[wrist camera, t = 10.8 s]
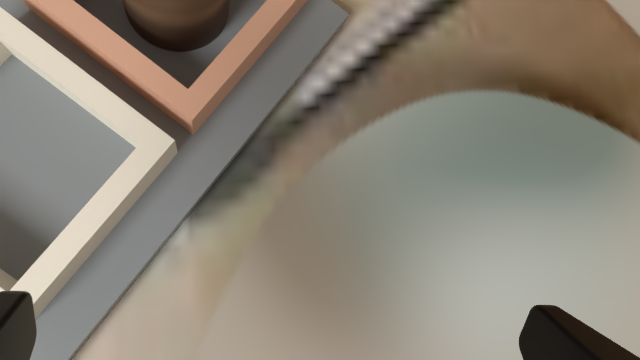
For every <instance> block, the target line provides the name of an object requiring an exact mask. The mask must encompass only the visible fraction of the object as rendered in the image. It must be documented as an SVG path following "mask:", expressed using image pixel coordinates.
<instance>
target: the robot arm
mask: <svg viewBox="0 0 640 360" xmlns="http://www.w3.org/2000/svg"><path fill="white" fill-rule="evenodd" d="M36 336H37V328H36V321H35V314H34V307H33V300H32V296H31V294H30V293H29V292H27V291H1V292H0V360H30V358H31V355H32V352H33V348H34V345H35V342H36ZM519 347H520V351H521V354H522V356H523V359H524V360H640V358H639V357H637V356H636V355H634V354H632V353H631V352H629V351H628V350H626V349H624V348H623V347H621V346H620V345H618V344H616V343H615V342H613V341H612V340H610V339H608V338H607V337H605V336H604V335H602V334H600V333H599V332H597V331H596V330H594V329H592V328H591V327H589V326H587V325H586V324H584V323H583V322H581V321H580V320H578V319H576V318H575V317H573V316H572V315H570V314H568V313H567V312H565V311H564V310H562V309H560V308H559V307H557V306H553V305H536V306H534V307H533V308H532V309H531V310H530V312H529V315H528V317H527V320H526V322H525V324H524V327H523V329H522V332H521V334H520V337H519Z"/></svg>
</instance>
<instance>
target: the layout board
mask: <svg viewBox="0 0 640 360" xmlns="http://www.w3.org/2000/svg"><path fill="white" fill-rule="evenodd" d="M348 15H349V14H348V13H347V12H346V11H345V10H343V9H342V8H341V7H340V6H338V5H337V4H336V3H335V2H333V1H332V0H230V3H229V14H228V19H227V22H226V25H225V27H224V28H223V30H222V32H221V33H220V34H219V36H218V37H217V38H216V39H215V40H213V41H212V42H211V43H209V44H207V45H206V46H204V47H202V48H199V49H196V50H192V51H186V52H176V51H169V50H164V49H161V48H158V47H156V46H154V45H152V44H150V43H149V42H147V41H146V40H144V39H143V38H142V37H141V36H140V35H139V34H138V33H137V32H136V31H135V30H134V28H133V27H132V26H131V24H130V22H129V20H128V17H127V15H126V12H125V9H124V6H123V2H122V0H0V292H1V291H27V292H29V293H30V294H31V296H32V300H33V307H34V314H35V321H36V328H37V336H36V342H35V345H34V348H33V352H32V355H31V358H30V360H71V359H72V358H73V356H74V355H75V354H76V353H77V352H78V350H79V349H80V348H81V347H82V345H83V344H84V343H85V342H86V340H87V339H88V338H89V337H90V336H91V334H92V333H93V332H94V331H95V329H96V328H97V327H98V326H99V324H100V323H101V322H102V321H103V320H104V318H105V317H106V316H107V315H108V313H109V312H110V311H111V310H112V308H113V307H114V306H115V305H116V304H117V302H118V301H119V300H120V299H121V297H122V296H123V295H124V294H125V292H126V291H127V290H128V289H129V288H130V286H131V285H132V284H133V283H134V281H135V280H136V279H137V278H138V276H139V275H140V274H141V273H142V272H143V270H144V269H145V268H146V267H147V265H148V264H149V263H150V262H151V260H152V259H153V258H154V257H155V256H156V254H157V253H158V252H159V251H160V249H161V248H162V247H163V246H164V244H165V243H166V242H167V241H168V240H169V238H170V237H171V236H172V235H173V233H174V232H175V231H176V230H177V228H178V227H179V226H180V225H181V224H182V222H183V221H184V220H185V219H186V217H187V216H188V215H189V214H190V212H191V211H192V210H193V209H194V208H195V206H196V205H197V204H198V203H199V201H200V200H201V199H202V198H203V196H204V195H205V194H206V193H207V192H208V190H209V189H210V188H211V187H212V185H213V184H214V183H215V182H216V180H217V179H218V178H219V177H220V176H221V174H222V173H223V172H224V171H225V169H226V168H227V167H228V166H229V164H230V163H231V162H232V161H233V160H234V158H235V157H236V156H237V155H238V153H239V152H240V151H241V150H242V148H243V147H244V146H245V145H246V144H247V142H248V141H249V140H250V139H251V137H252V136H253V135H254V134H255V132H256V131H257V130H258V129H259V128H260V126H261V125H262V124H263V123H264V121H265V120H266V119H267V118H268V116H269V115H270V114H271V113H272V112H273V110H274V109H275V108H276V107H277V105H278V104H279V103H280V102H281V100H282V99H283V98H284V97H285V96H286V94H287V93H288V92H289V91H290V89H291V88H292V87H293V86H294V84H295V83H296V82H297V81H298V80H299V78H300V77H301V76H302V75H303V73H304V72H305V71H306V70H307V68H308V67H309V66H310V65H311V64H312V62H313V61H314V60H315V59H316V57H317V56H318V55H319V54H320V52H321V51H322V50H323V49H324V48H325V46H326V45H327V44H328V43H329V41H330V40H331V39H332V38H333V37H334V35H335V34H336V33H337V32H338V30H339V29H340V28H341V27H342V25H343V24H344V22H345V20H346V19H347V17H348Z"/></svg>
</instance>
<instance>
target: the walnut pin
mask: <svg viewBox="0 0 640 360" xmlns="http://www.w3.org/2000/svg"><path fill="white" fill-rule="evenodd" d="M122 2H123V6H124V9H125V12H126V15H127V17H128V20H129V22H130V24H131V26H132V27H133V28H134V30H135V31H136V32H137V33H138V34H139V35H140V36H141V37H142V38H143V39H144V40H146V41H147V42H149V43H150V44H152V45H154V46H156V47H158V48H161V49H164V50H169V51H176V52H186V51H192V50H196V49H199V48H202V47H204V46H206V45H207V44H209V43H211V42H212V41H213V40H215V39H216V38H217V37H218V36H219V34H220V33H221V32H222V30H223V28H224V27H225V25H226V22H227V19H228V14H229V3H230V0H122Z"/></svg>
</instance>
